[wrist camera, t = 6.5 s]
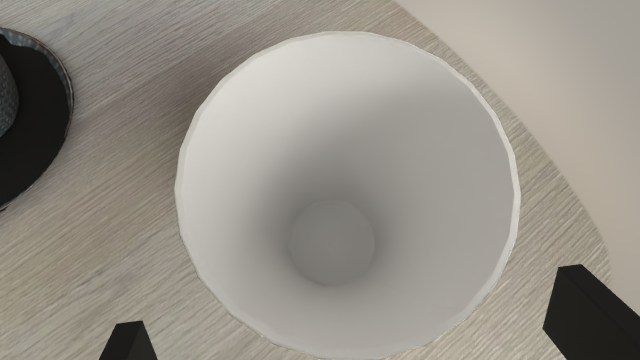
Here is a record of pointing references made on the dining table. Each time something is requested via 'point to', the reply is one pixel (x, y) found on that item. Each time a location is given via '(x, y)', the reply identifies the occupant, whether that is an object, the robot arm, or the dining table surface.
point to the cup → (347, 195)
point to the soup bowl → (30, 112)
